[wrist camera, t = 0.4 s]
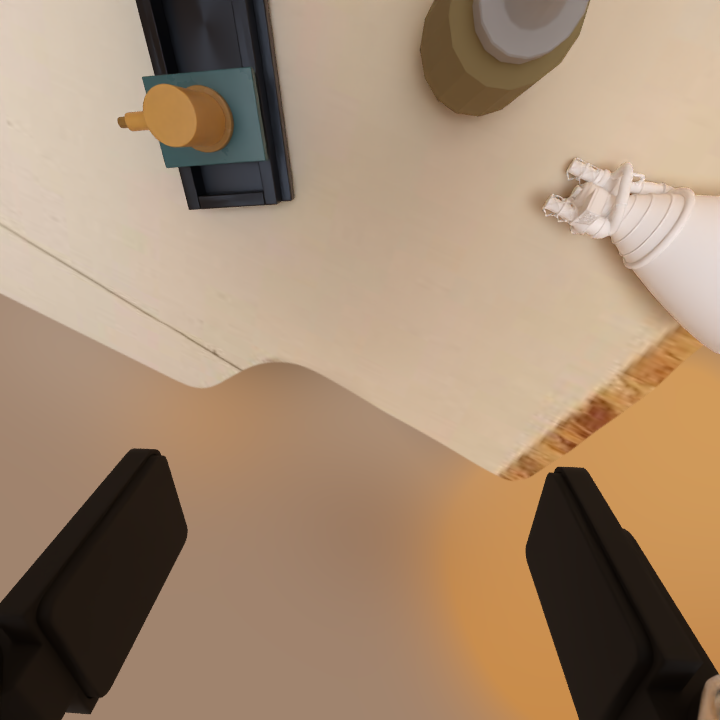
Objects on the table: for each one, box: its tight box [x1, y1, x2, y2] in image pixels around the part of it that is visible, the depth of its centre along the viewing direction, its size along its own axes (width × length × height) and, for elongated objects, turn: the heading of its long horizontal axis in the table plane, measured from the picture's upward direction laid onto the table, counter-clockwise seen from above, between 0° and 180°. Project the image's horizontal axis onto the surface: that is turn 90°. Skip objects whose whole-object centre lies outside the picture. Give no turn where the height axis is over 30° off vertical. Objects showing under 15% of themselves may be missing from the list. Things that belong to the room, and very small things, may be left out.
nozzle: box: [118, 67, 268, 168], centre depth 27 cm, size 6×8×8 cm
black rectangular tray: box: [136, 0, 294, 210], centre depth 28 cm, size 24×9×3 cm, turn 4°
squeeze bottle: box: [420, 0, 590, 116], centre depth 21 cm, size 8×8×18 cm
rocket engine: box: [542, 157, 720, 354], centre depth 31 cm, size 12×12×18 cm
